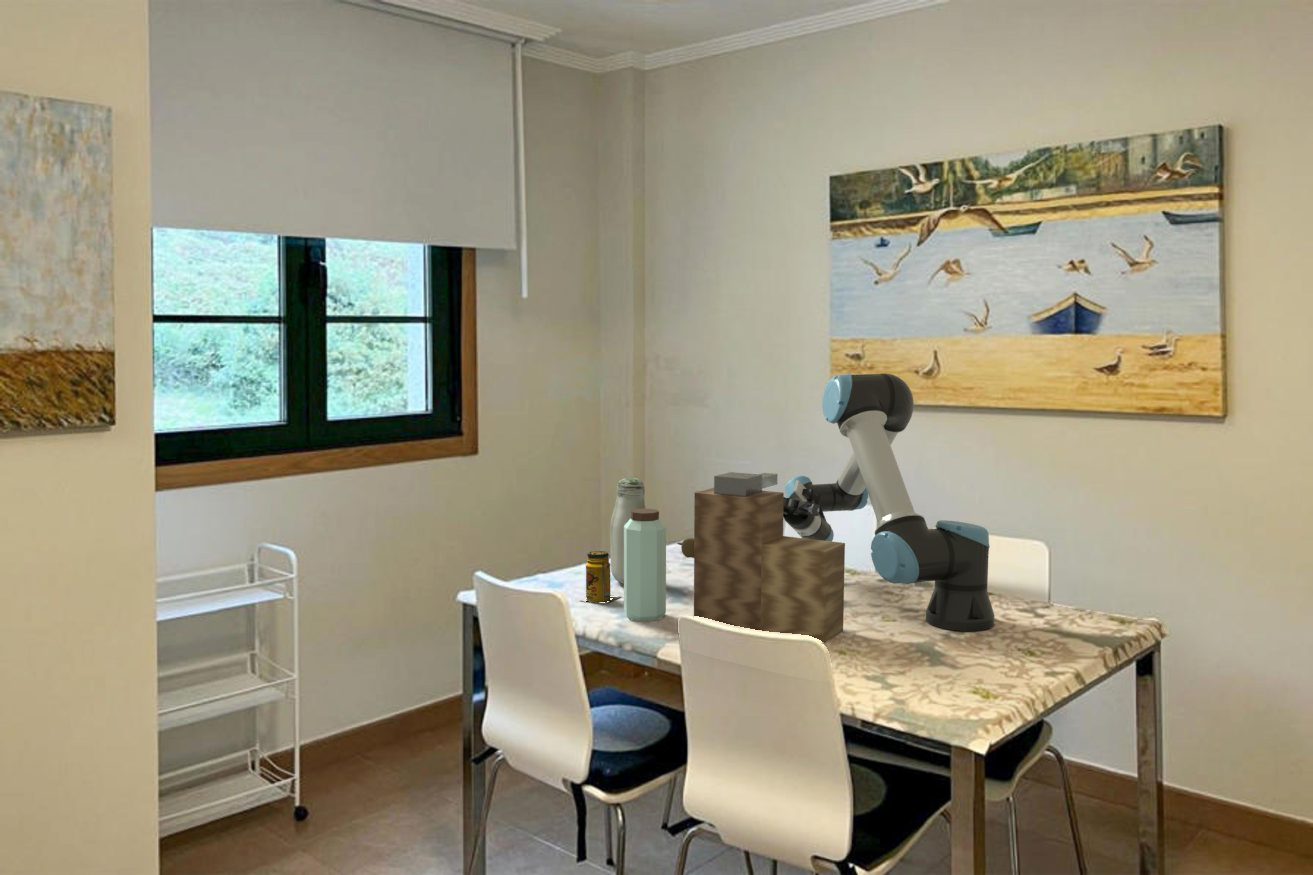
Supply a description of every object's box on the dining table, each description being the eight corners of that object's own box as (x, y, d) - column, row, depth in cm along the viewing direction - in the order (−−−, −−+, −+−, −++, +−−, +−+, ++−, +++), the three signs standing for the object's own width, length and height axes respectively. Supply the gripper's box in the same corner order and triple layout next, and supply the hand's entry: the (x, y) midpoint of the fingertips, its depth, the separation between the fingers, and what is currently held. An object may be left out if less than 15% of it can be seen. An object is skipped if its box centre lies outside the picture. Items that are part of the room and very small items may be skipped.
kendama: (732, 564, 314) (669, 555, 323) (744, 558, 323) (683, 550, 332) (733, 543, 314) (670, 535, 323) (745, 538, 322) (684, 531, 331)
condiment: (579, 601, 270) (578, 553, 268) (596, 594, 277) (596, 547, 276) (604, 605, 266) (604, 556, 265) (621, 597, 274) (621, 550, 272)
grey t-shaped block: (785, 485, 260) (786, 468, 260) (745, 496, 242) (746, 478, 242) (755, 482, 264) (755, 466, 264) (714, 493, 246) (714, 476, 246)
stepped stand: (843, 631, 244) (845, 498, 241) (823, 643, 234) (826, 505, 231) (716, 611, 260) (717, 486, 257) (693, 622, 251) (694, 492, 248)
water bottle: (661, 623, 250) (661, 515, 247) (619, 621, 252) (618, 513, 249) (669, 612, 259) (670, 508, 257) (628, 610, 261) (628, 506, 259)
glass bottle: (622, 589, 282) (621, 481, 279) (604, 581, 291) (604, 476, 288) (655, 585, 286) (655, 479, 284) (637, 577, 295) (637, 474, 292)
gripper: (844, 535, 272) (814, 502, 256) (754, 525, 285) (720, 493, 269) (850, 507, 275) (821, 472, 258) (761, 498, 288) (728, 465, 271)
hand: (770, 483), depth 263 cm, fingers open, 13 cm apart
